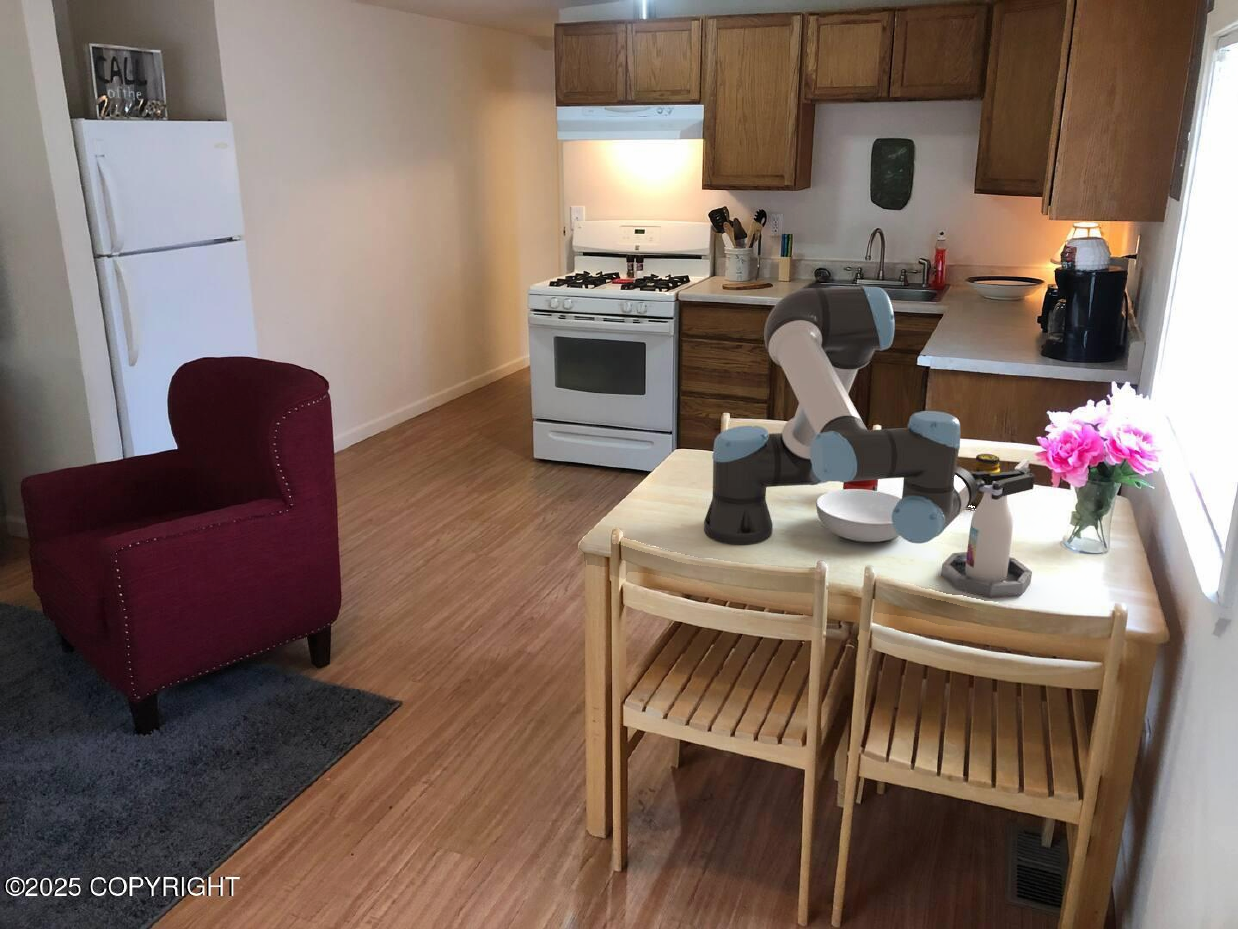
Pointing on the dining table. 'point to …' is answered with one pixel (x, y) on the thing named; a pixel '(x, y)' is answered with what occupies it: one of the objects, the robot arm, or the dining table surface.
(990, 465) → the condiment
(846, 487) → the canned food
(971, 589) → the grey octagonal tray
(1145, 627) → the dining table surface
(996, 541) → the milk bottle
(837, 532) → the serving bowl
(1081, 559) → the dining table surface
